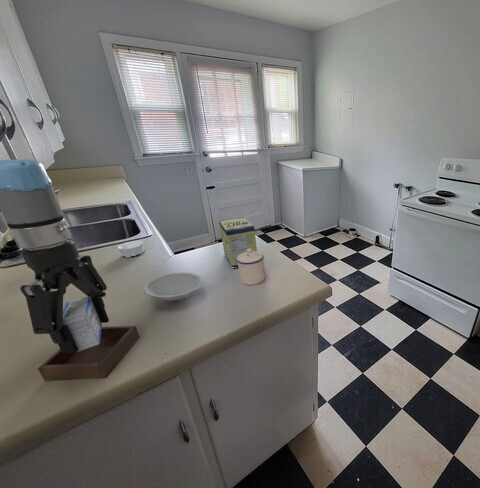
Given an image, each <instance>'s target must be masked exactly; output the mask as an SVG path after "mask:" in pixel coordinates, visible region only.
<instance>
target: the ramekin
mask: <svg viewBox="0 0 480 488" xmlns="http://www.w3.org/2000/svg"><path fill="white" fill-rule="evenodd" d="M117 249H118V251H119V253H120V254H121V256H122V257H123V256H133V255H136V254H139V253H141V252H142V251H143V250H144V251H145V249H144V242H143V241H142V240H131V241H127V242H124V243H121V244H119V245H118V246H117Z"/></svg>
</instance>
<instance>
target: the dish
mask: <svg viewBox="0 0 480 488" xmlns="http://www.w3.org/2000/svg"><path fill="white" fill-rule="evenodd" d="M202 284H203V278H202V277H201V275H198V274H196V273H192V272H172V273H166V274H163V275H159V276H157V277H155V278H154V277H153V278H152V279H150V280H149V281H148V282H147V283H145V284H144V286H143V293H144V294H146V295H147V296H149V297H152V298H155V299H158V300H161V301H169V302H172V301H179V300H183V299H186V298H188V297H190V296H191V295H192V294H194V293H195V292H196V291H197V290H198V289H199V288H200V287H201V286H202Z"/></svg>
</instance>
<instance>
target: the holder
mask: <svg viewBox="0 0 480 488" xmlns="http://www.w3.org/2000/svg"><path fill="white" fill-rule="evenodd" d="M140 337H141V336H140V334H139V331H138V328H137V325H117V326H115V325H114V326H102V330H101V337H100V344H99V345H96V346H93V347H90V348H88V349H85V350H82V351H78V352H76V353H62V352H61V350H60V348H59V349H58V350H57V351H56V352H55V353H53V354H52V355H51V356H50V357H48V359H46V360H45V361H44V362H43V363H42V364H41V365H40V366H38V367H37V370H38V372H39V374H40V375H41V377H42V380H43V381H44V382H50V381H68V380H69V381H70V380H90V379H106V378H107V377H108V376H109V375H110V374H111V372H112V371H113V370H114V369H115V368H116V366H118V364H119V363H120V361H122V359H123V358H124V357H125V356H126V354H127V353H128V352H129V351H130V349H131V348H132V347H133V345H134V344H135V343H136V342H137V341H138V339H139V338H140Z"/></svg>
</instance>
